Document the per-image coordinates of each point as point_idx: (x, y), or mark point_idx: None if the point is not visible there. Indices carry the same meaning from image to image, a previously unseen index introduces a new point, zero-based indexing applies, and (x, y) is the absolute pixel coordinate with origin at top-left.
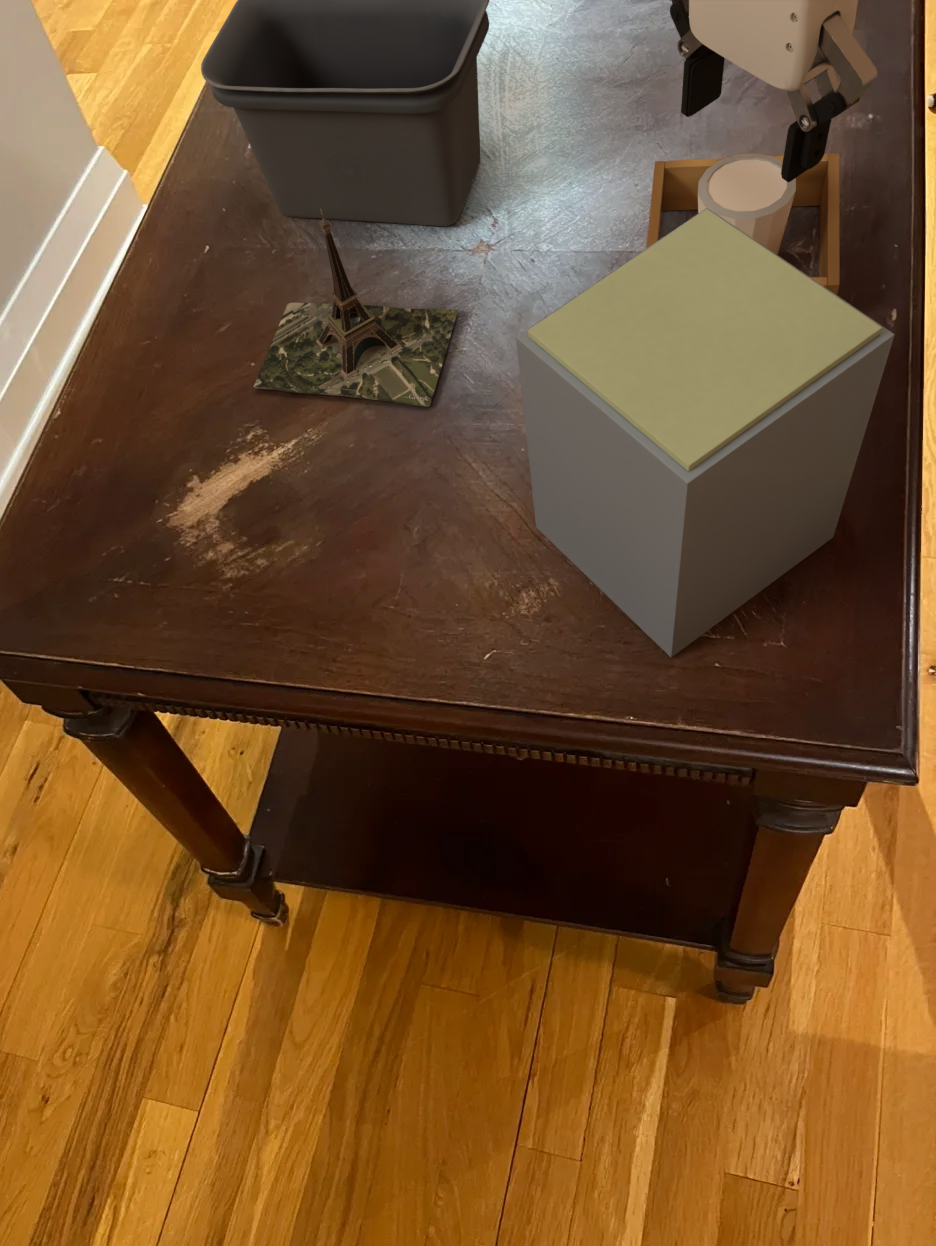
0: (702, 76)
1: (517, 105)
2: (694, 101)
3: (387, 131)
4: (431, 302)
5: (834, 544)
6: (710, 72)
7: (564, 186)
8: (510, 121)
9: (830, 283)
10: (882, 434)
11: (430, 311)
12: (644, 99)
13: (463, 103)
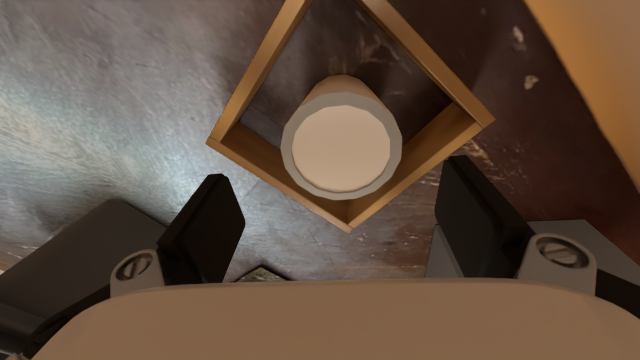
0: (219, 252)
1: (36, 136)
2: (237, 232)
3: None
4: (242, 266)
5: (587, 221)
6: (213, 236)
7: (167, 163)
8: (61, 151)
9: (486, 125)
10: (580, 144)
11: (252, 273)
12: (48, 26)
13: (91, 282)
